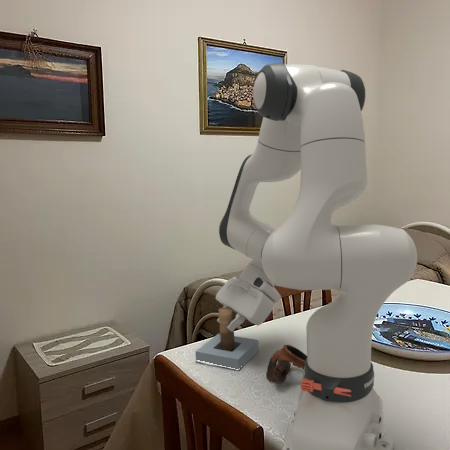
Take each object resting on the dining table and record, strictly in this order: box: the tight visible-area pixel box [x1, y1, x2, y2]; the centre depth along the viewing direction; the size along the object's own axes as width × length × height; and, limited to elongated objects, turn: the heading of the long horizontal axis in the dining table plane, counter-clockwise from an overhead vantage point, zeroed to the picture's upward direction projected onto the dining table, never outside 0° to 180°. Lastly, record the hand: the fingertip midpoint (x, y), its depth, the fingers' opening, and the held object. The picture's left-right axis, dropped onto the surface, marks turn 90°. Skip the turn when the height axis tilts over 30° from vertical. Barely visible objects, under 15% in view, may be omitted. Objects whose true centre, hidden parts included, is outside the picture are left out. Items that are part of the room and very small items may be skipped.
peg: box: [218, 306, 235, 352], centre depth 117 cm, size 4×4×11 cm
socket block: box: [195, 333, 260, 369], centre depth 117 cm, size 12×12×3 cm
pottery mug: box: [265, 344, 307, 384], centre depth 104 cm, size 12×10×8 cm
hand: (224, 326), depth 116 cm, fingers closed on peg, 4 cm apart
